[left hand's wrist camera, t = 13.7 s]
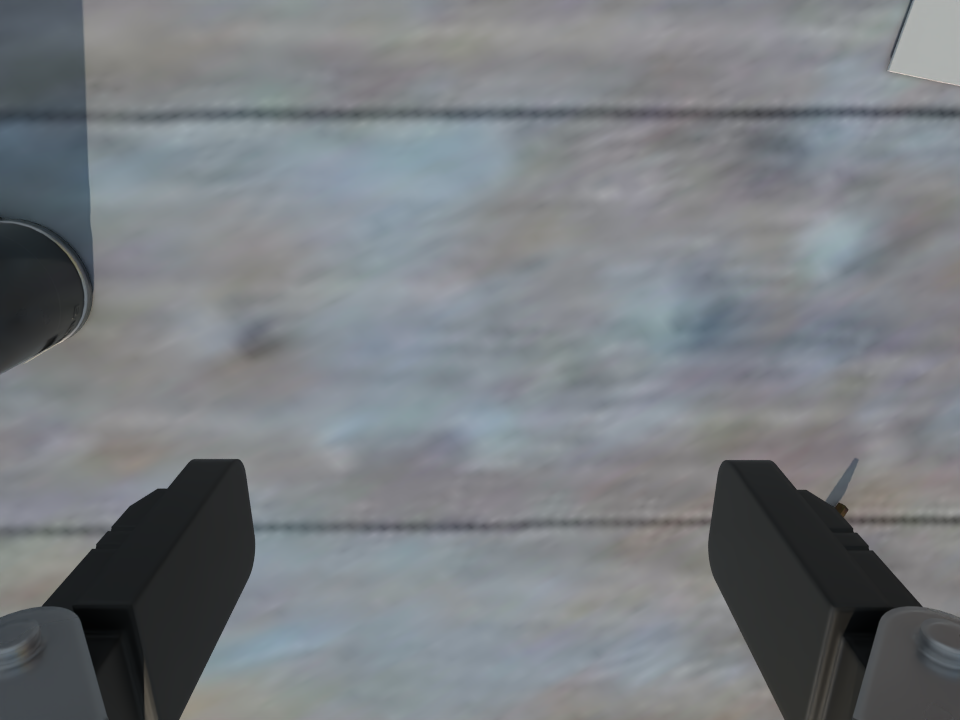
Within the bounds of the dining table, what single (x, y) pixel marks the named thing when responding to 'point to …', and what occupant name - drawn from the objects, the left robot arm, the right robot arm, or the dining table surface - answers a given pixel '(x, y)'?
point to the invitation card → (930, 42)
